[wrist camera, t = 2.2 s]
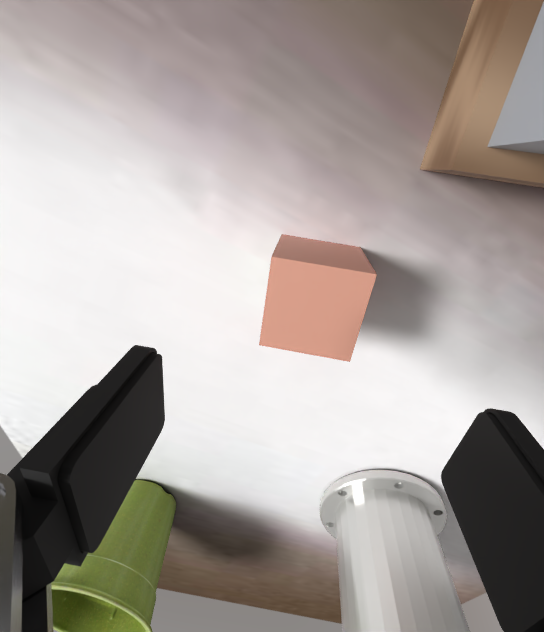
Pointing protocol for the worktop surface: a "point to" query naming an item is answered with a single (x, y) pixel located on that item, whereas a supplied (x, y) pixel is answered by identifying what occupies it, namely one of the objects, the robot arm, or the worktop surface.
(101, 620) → the plant pot
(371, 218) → the worktop surface
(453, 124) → the lower block
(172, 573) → the worktop surface
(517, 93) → the upper block
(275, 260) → the pink cube
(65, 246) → the worktop surface
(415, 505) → the robot arm
